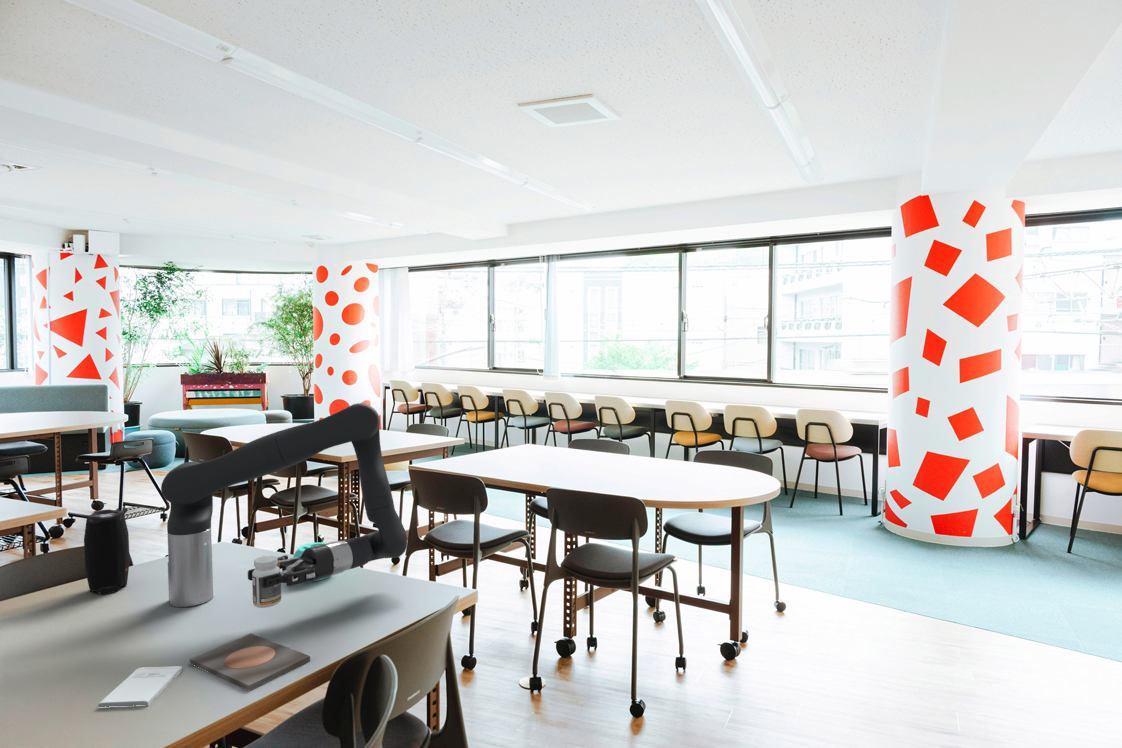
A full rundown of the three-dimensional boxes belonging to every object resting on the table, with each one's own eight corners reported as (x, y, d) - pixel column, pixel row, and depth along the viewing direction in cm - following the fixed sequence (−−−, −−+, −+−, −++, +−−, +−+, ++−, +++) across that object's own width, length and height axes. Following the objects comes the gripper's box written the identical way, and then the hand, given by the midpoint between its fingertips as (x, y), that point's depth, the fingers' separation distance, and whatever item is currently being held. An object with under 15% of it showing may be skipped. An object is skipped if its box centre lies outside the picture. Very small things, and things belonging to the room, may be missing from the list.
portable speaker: (138, 584, 172) (135, 509, 171) (104, 598, 163) (100, 519, 162) (112, 580, 175) (109, 506, 173) (77, 594, 166) (74, 516, 164)
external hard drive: (98, 712, 115) (137, 675, 127) (148, 709, 115) (182, 673, 128) (97, 702, 115) (137, 666, 127) (147, 700, 115) (182, 665, 128)
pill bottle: (286, 598, 148) (285, 554, 148) (272, 609, 143) (271, 563, 142) (261, 597, 149) (260, 553, 148) (247, 608, 143) (246, 562, 143)
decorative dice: (292, 577, 177) (292, 547, 177) (320, 569, 183) (320, 540, 183) (308, 584, 172) (307, 553, 171) (336, 575, 178) (335, 546, 178)
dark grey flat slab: (189, 663, 130) (189, 658, 130) (251, 638, 141) (251, 633, 141) (249, 690, 120) (249, 684, 120) (310, 660, 131) (310, 655, 131)
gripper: (311, 537, 161) (240, 554, 148) (343, 551, 151) (269, 570, 138) (312, 568, 161) (240, 587, 148) (344, 583, 151) (270, 605, 139)
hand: (255, 579), depth 143 cm, fingers closed on pill bottle, 5 cm apart
